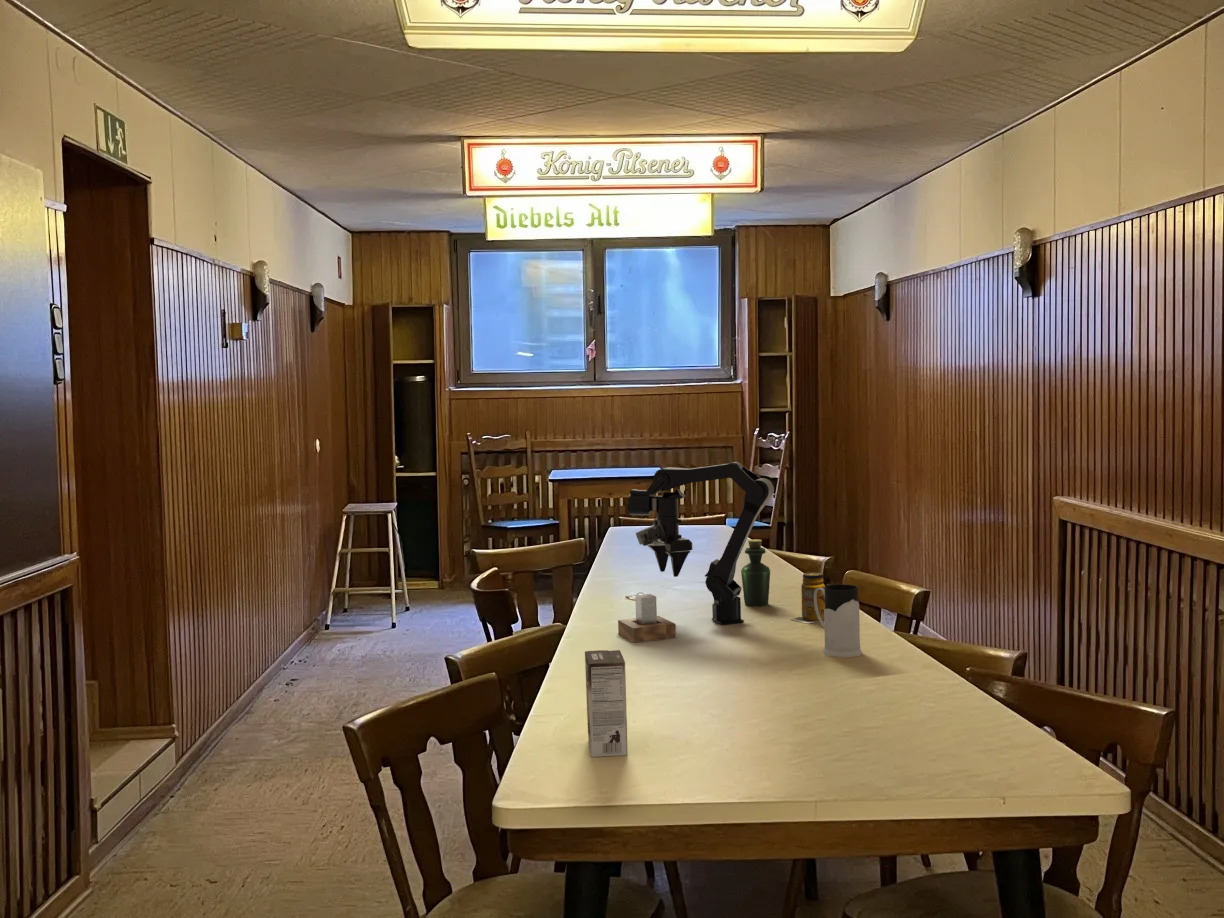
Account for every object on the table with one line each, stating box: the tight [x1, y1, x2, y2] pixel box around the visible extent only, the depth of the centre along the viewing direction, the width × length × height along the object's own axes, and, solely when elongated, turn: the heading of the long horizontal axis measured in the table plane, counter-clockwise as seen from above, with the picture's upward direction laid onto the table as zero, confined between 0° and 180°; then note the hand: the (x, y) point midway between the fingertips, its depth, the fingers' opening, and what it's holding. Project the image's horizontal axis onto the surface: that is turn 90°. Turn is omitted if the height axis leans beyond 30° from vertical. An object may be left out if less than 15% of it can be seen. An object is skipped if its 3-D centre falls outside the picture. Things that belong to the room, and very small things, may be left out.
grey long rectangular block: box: [635, 593, 658, 625], centre depth 281 cm, size 4×4×10 cm
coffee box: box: [584, 649, 628, 758], centre depth 195 cm, size 9×6×16 cm
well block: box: [617, 615, 677, 643], centre depth 281 cm, size 11×11×4 cm
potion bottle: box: [740, 538, 771, 607], centre depth 317 cm, size 8×8×18 cm
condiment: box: [789, 571, 826, 624], centre depth 294 cm, size 7×8×12 cm
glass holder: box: [814, 583, 863, 658], centre depth 260 cm, size 9×14×15 cm, turn 27°
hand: (669, 574), depth 300 cm, fingers open, 9 cm apart
